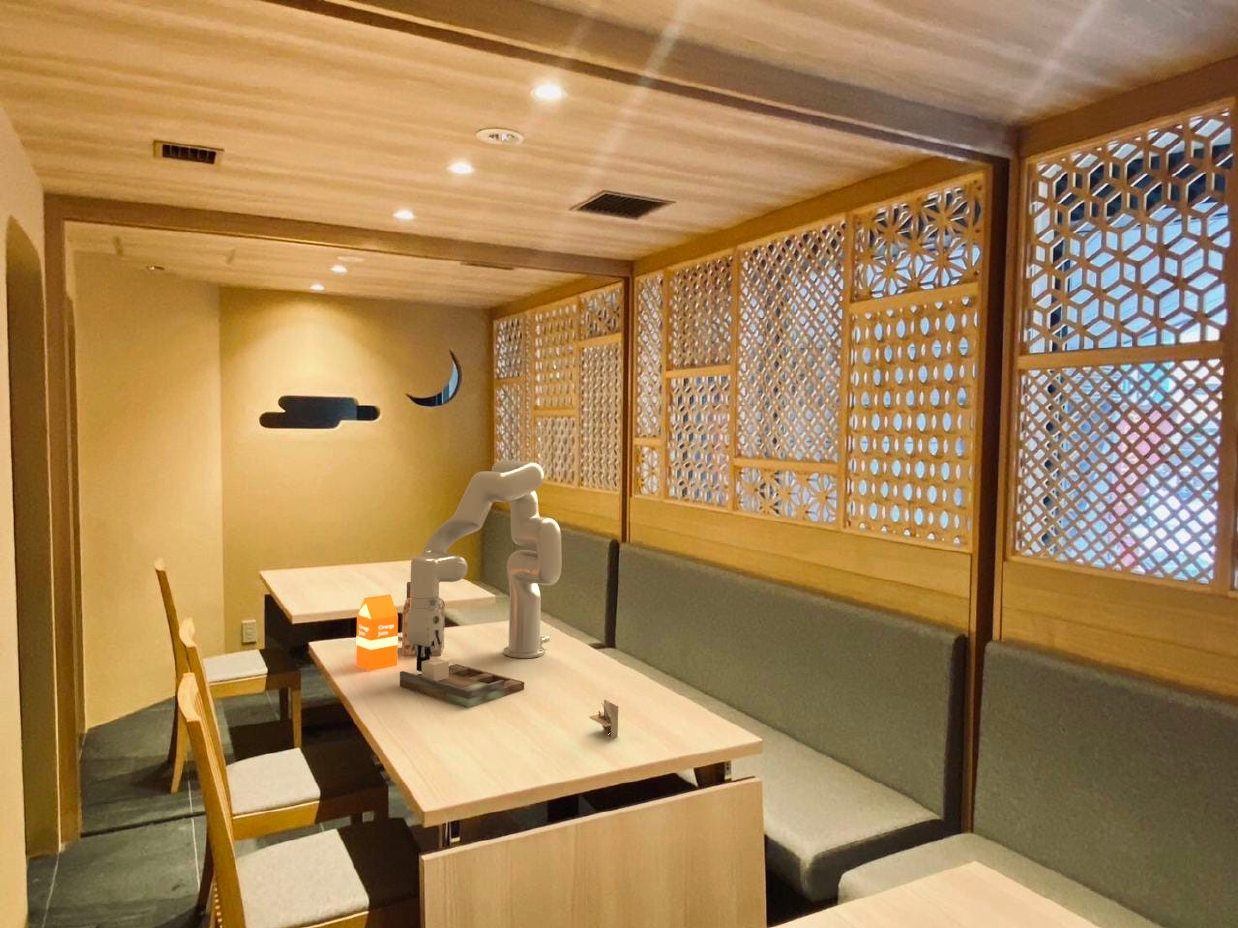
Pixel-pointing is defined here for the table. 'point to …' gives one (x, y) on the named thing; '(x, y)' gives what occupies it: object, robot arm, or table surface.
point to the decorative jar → (406, 648)
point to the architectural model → (608, 718)
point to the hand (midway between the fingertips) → (423, 670)
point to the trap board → (462, 685)
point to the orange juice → (377, 633)
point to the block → (435, 669)
